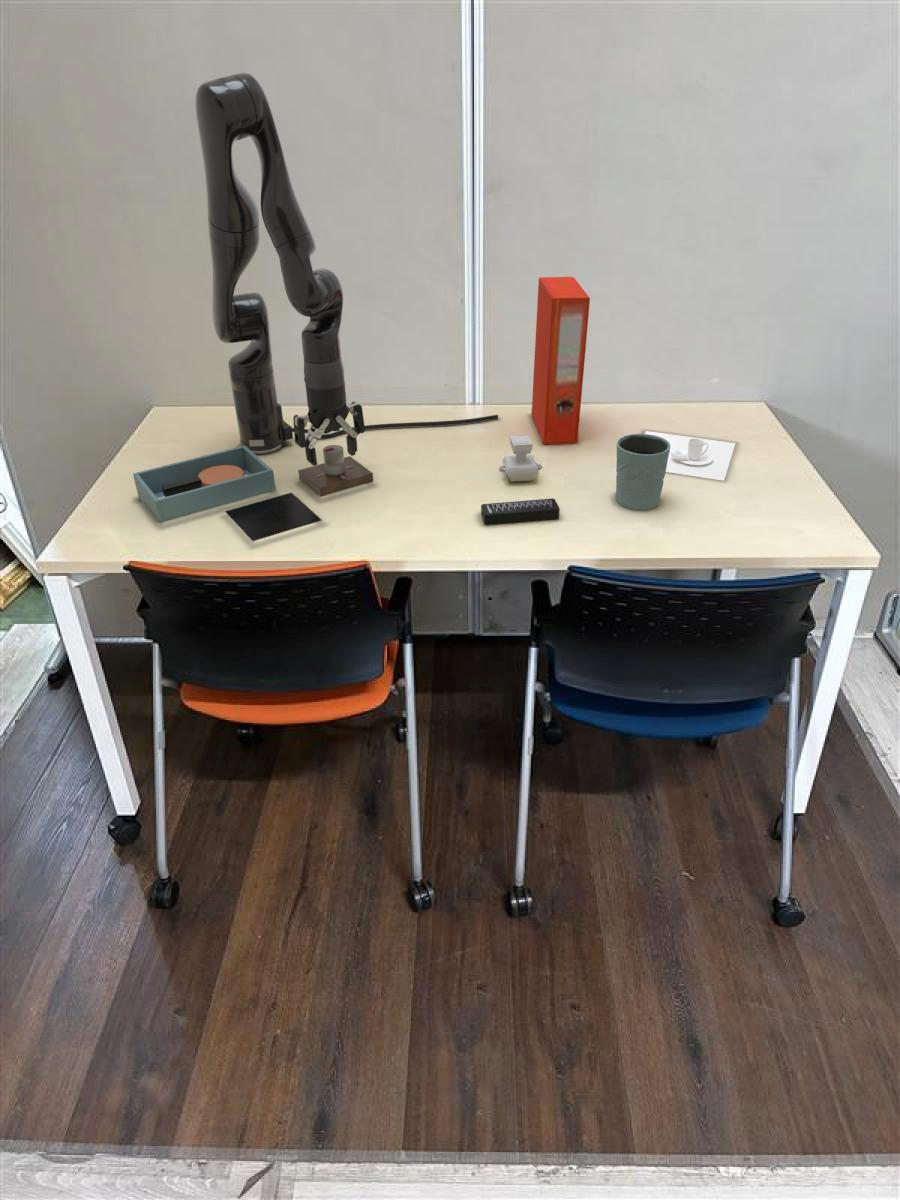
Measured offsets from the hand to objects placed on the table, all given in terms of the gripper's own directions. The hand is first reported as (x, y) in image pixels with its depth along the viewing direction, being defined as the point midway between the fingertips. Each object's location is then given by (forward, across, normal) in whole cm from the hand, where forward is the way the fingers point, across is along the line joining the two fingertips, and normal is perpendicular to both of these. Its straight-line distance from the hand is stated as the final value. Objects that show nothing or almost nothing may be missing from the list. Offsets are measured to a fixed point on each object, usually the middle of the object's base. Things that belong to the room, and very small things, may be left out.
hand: (332, 459), depth 173 cm
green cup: (+6, +47, -39) cm, 61 cm away
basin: (+6, -24, +10) cm, 26 cm away
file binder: (+6, +56, -2) cm, 56 cm away
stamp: (+6, +34, -18) cm, 39 cm away
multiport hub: (+6, +24, -32) cm, 40 cm away
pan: (+5, -24, +10) cm, 26 cm away
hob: (+6, -16, -7) cm, 19 cm away
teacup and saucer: (+6, +70, -29) cm, 76 cm away
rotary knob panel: (+6, 0, 0) cm, 6 cm away
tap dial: (+3, 0, 0) cm, 3 cm away
